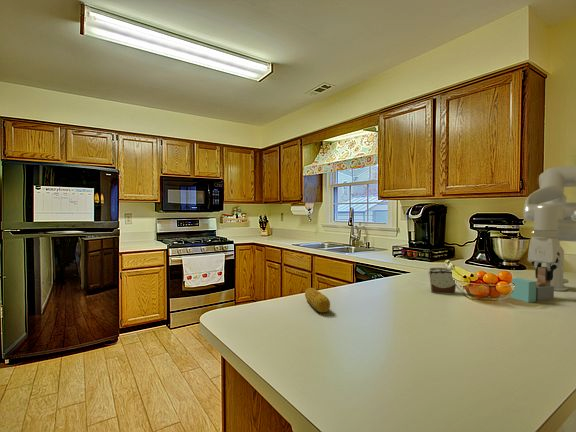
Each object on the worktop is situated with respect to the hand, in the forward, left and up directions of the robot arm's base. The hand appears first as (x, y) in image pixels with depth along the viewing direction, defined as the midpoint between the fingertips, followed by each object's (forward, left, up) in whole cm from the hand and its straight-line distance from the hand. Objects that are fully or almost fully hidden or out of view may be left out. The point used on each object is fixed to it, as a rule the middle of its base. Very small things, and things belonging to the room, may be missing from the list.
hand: (543, 278), depth 131 cm
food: (+95, -15, -8) cm, 97 cm away
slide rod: (+2, 0, -4) cm, 5 cm away
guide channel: (+3, 0, -8) cm, 8 cm away
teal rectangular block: (+12, 0, -8) cm, 14 cm away
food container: (+34, -19, -8) cm, 40 cm away
